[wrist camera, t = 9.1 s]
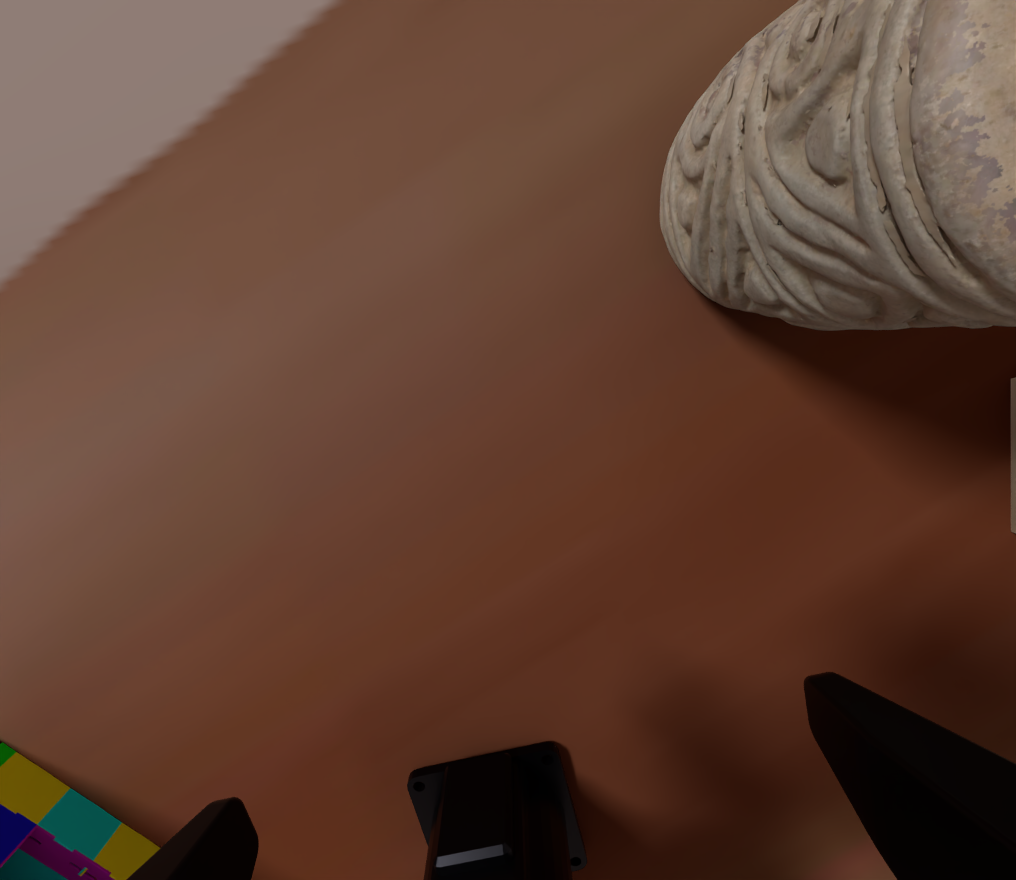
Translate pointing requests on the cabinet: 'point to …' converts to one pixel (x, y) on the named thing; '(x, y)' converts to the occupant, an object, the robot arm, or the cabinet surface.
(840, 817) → the cabinet surface
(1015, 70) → the carving
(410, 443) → the cabinet surface
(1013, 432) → the birch brick
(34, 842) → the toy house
